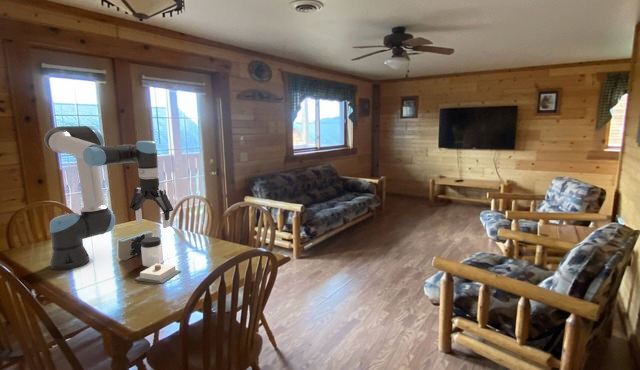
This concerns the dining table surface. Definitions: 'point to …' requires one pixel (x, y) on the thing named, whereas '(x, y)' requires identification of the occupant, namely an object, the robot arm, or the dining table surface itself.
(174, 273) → the mat
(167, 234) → the dining table surface
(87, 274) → the dining table surface
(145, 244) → the jar
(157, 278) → the lid
